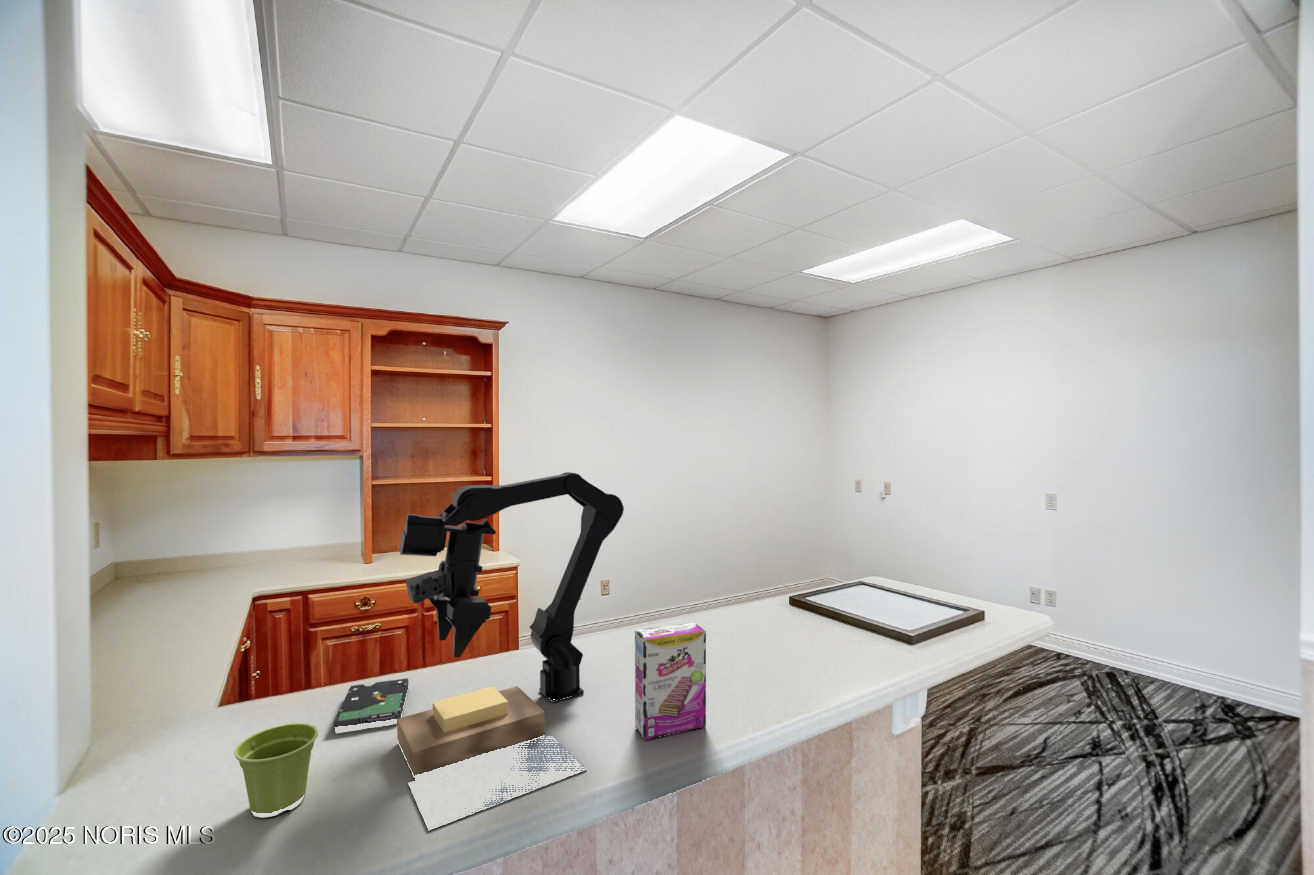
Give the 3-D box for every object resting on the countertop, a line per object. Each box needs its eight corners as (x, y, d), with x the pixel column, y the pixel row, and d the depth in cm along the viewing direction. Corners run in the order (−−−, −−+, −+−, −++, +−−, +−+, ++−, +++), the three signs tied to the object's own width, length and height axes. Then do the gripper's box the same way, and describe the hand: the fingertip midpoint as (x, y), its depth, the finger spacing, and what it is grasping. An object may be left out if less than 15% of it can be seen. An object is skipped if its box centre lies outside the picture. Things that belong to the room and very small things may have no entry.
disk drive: (349, 700, 110) (333, 737, 96) (349, 685, 110) (333, 720, 96) (409, 691, 113) (402, 726, 99) (408, 677, 113) (401, 709, 99)
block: (493, 697, 99) (493, 686, 99) (508, 713, 94) (507, 701, 94) (432, 714, 94) (432, 702, 94) (444, 732, 88) (444, 719, 88)
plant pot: (333, 782, 83) (331, 721, 83) (294, 827, 73) (292, 758, 73) (265, 784, 82) (264, 723, 82) (217, 830, 73) (216, 761, 73)
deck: (517, 708, 104) (517, 685, 104) (545, 736, 94) (544, 711, 94) (397, 743, 93) (396, 718, 93) (414, 780, 83) (413, 752, 83)
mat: (552, 735, 94) (552, 734, 94) (586, 770, 84) (586, 768, 84) (407, 784, 82) (407, 782, 82) (428, 831, 72) (428, 829, 72)
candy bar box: (644, 742, 92) (643, 639, 92) (634, 728, 96) (632, 629, 96) (708, 728, 96) (707, 629, 96) (695, 715, 100) (694, 620, 100)
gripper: (402, 546, 105) (389, 634, 104) (428, 567, 89) (412, 671, 88) (464, 549, 111) (452, 631, 110) (498, 569, 96) (484, 665, 95)
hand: (449, 648), depth 100 cm, fingers open, 9 cm apart
